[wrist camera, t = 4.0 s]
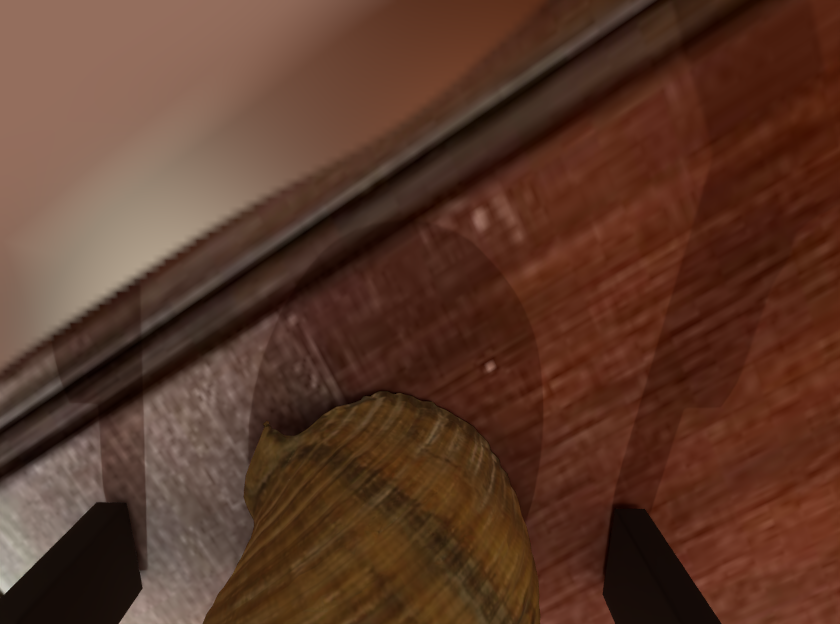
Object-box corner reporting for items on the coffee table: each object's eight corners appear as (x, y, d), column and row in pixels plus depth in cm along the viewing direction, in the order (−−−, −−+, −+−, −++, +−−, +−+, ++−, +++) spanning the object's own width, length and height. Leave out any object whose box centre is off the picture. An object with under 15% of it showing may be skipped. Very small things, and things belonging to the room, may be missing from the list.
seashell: (338, 365, 15) (44, 511, 10) (514, 324, 10) (115, 577, 5) (444, 628, 16) (225, 903, 11) (658, 710, 11) (454, 1321, 6)
